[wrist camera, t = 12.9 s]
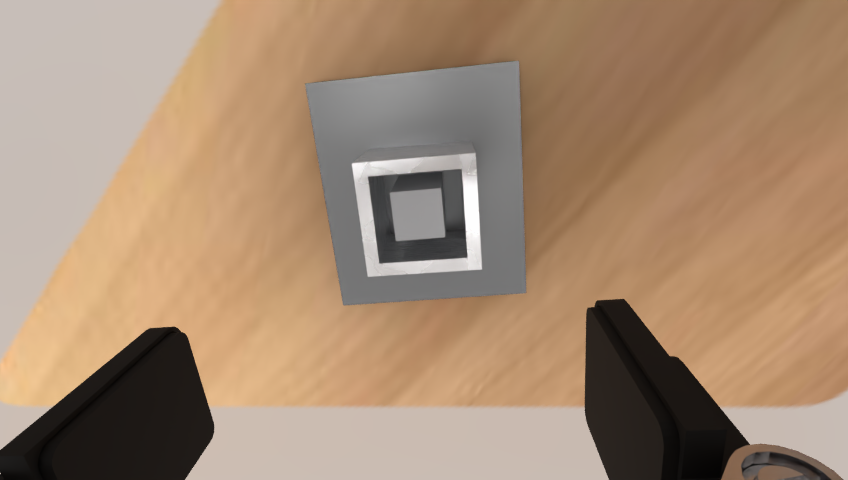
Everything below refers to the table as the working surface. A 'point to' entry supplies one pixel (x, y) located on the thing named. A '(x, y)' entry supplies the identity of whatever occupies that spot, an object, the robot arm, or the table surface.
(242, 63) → the table surface
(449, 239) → the collar
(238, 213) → the table surface
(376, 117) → the stand
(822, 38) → the table surface
